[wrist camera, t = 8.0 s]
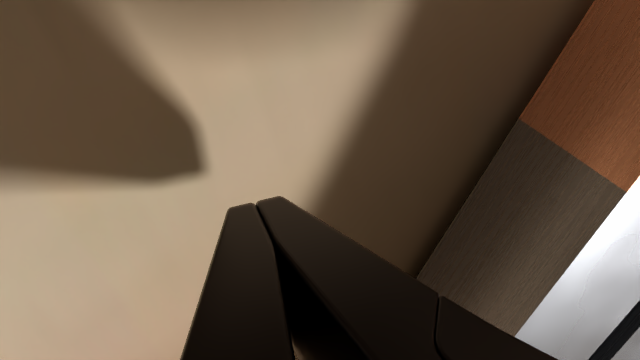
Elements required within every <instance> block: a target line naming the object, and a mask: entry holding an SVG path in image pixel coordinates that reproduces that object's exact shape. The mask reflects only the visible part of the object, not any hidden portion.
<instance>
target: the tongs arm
mask: <svg viewBox="0 0 640 360" xmlns="http://www.w3.org/2000/svg"><path fill="white" fill-rule="evenodd" d="M416 279H417V280H418V281H420V282H422V283H423V284H425V285H427V286H428V287H430V288H431V289H433V290H435V291H436V292H438V293H439V298H440V296H445V297H446V298H448V299H450V300H451V301H453V302H455V303H456V304H458V305H459V306H461V307H463V308H464V309H466V310H468V311H469V312H471V313H473V314H475V315H476V316H478V317H480V318H482V319H483V320H485V321H487V322H488V323H490V324H492V325H494V326H495V327H497V328H499V329H501V330H503V331H504V332H506V333H508V334H510V335H512V336H514V337H516V338H518V339H520V340H522V341H524V342H526V343H528V344H529V345H531V346H533V347H535V348H537V349H539V350H541V351H543V352H545V353H547V354H549V355H551V356H553V357H555V358H557V359H559V360H588V359H589V358H590V357H591V355H592V354H593V353H594V352H595V351H596V350H597V348H598V347H599V346H600V345H601V344H602V343H603V342H604V340H605V339H606V338H607V337H608V336H609V335H610V334H611V332H612V331H613V330H614V329H615V328H616V327H617V325H618V324H619V323H620V322H621V321H622V320H623V319H624V317H625V316H626V315H627V314H628V313H629V312H630V311H631V309H632V308H633V307H634V306H635V305H636V304H637V302H638V301H639V300H640V0H594V2H593V3H592V5H591V6H590V8H589V9H588V11H587V13H586V14H585V16H584V17H583V19H582V20H581V22H580V23H579V25H578V27H577V28H576V30H575V31H574V33H573V34H572V36H571V38H570V39H569V41H568V42H567V44H566V45H565V47H564V48H563V50H562V52H561V53H560V55H559V56H558V58H557V59H556V61H555V62H554V64H553V66H552V67H551V69H550V70H549V72H548V73H547V75H546V76H545V78H544V80H543V81H542V83H541V84H540V86H539V87H538V89H537V91H536V92H535V94H534V95H533V97H532V98H531V100H530V101H529V103H528V105H527V106H526V108H525V109H524V111H523V112H522V114H521V115H520V117H519V119H518V120H517V122H516V123H515V125H514V126H513V128H512V130H511V131H510V133H509V134H508V136H507V137H506V139H505V140H504V142H503V144H502V145H501V147H500V148H499V150H498V151H497V153H496V154H495V156H494V158H493V159H492V161H491V162H490V164H489V165H488V167H487V169H486V170H485V172H484V173H483V175H482V176H481V178H480V179H479V181H478V183H477V184H476V186H475V187H474V189H473V190H472V192H471V193H470V195H469V197H468V198H467V200H466V201H465V203H464V204H463V206H462V207H461V209H460V211H459V212H458V214H457V215H456V217H455V218H454V220H453V222H452V223H451V225H450V226H449V228H448V229H447V231H446V232H445V234H444V236H443V237H442V239H441V240H440V242H439V243H438V245H437V246H436V248H435V250H434V251H433V253H432V254H431V256H430V257H429V259H428V261H427V262H426V264H425V265H424V267H423V268H422V270H421V271H420V273H419V275H418V276H417V278H416Z"/></svg>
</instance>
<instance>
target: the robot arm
mask: <svg viewBox="0 0 640 360" xmlns="http://www.w3.org/2000/svg"><path fill="white" fill-rule="evenodd" d="M293 348H294V350H293ZM294 351H295V353H296V355H297V358H298V360H559V359H557V358H555V357H553V356H551V355H549V354H547V353H545V352H543V351H541V350H539V349H537V348H535V347H533V346H531V345H529V344H528V343H526V342H524V341H522V340H520V339H518V338H516V337H514V336H512V335H510V334H508V333H506V332H504V331H503V330H501V329H499V328H497V327H495V326H494V325H492V324H490V323H488V322H487V321H485V320H483V319H482V318H480V317H478V316H476V315H475V314H473V313H471V312H469V311H468V310H466V309H464V308H463V307H461V306H459V305H458V304H456V303H455V302H453V301H451V300H450V299H448V298H446V297H445V296H440V298H439V293H438V292H436V291H435V290H433V289H431V288H430V287H428V286H427V285H425V284H423V283H422V282H420V281H418V280H417V279H415V278H414V277H412V276H410V275H409V274H407V273H405V272H404V271H402V270H401V269H399V268H397V267H396V266H394V265H392V264H391V263H389V262H388V261H386V260H384V259H383V258H381V257H379V256H378V255H376V254H375V253H373V252H371V251H370V250H368V249H366V248H365V247H363V246H362V245H360V244H358V243H357V242H355V241H353V240H352V239H350V238H349V237H347V236H345V235H344V234H342V233H340V232H339V231H337V230H336V229H334V228H332V227H331V226H329V225H328V224H326V223H324V222H323V221H321V220H319V219H318V218H316V217H315V216H313V215H311V214H310V213H308V212H306V211H305V210H303V209H302V208H300V207H298V206H297V205H295V204H293V203H292V202H290V201H289V200H287V199H285V198H284V197H281V196H277V197H273V198H269V199H264V200H260V201H258V202H257V203H256V205H255V204H253V203H248V204H243V205H239V206H235V207H231V208H229V209H228V211H227V213H226V217H225V220H224V223H223V226H222V229H221V232H220V235H219V239H218V242H217V245H216V248H215V251H214V254H213V258H212V261H211V264H210V267H209V270H208V273H207V276H206V280H205V283H204V286H203V289H202V292H201V295H200V299H199V302H198V305H197V308H196V311H195V314H194V317H193V321H192V324H191V327H190V330H189V333H188V336H187V339H186V343H185V346H184V349H183V352H182V355H181V358H180V360H295V356H294Z"/></svg>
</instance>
